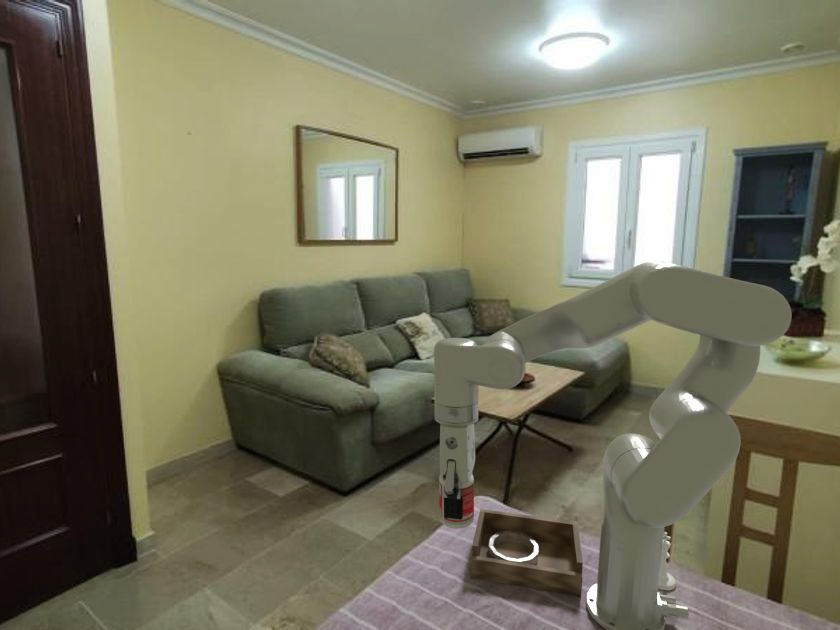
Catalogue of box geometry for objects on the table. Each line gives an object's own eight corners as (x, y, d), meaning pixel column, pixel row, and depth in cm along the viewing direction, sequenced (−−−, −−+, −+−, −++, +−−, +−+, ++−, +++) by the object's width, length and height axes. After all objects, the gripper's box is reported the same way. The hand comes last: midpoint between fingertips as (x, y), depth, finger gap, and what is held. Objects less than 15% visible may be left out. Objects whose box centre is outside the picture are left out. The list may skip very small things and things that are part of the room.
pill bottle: (481, 522, 86) (481, 463, 84) (453, 534, 82) (453, 473, 81) (459, 506, 91) (459, 451, 89) (432, 517, 88) (431, 459, 86)
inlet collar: (537, 543, 101) (538, 534, 101) (537, 574, 92) (538, 564, 91) (491, 536, 103) (491, 528, 103) (486, 565, 94) (487, 556, 94)
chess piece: (674, 594, 88) (680, 544, 87) (645, 584, 91) (649, 535, 89) (676, 578, 93) (681, 530, 91) (647, 569, 95) (652, 522, 93)
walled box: (575, 548, 101) (577, 522, 100) (581, 596, 88) (583, 566, 87) (479, 534, 106) (480, 508, 105) (470, 577, 92) (471, 548, 91)
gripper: (471, 431, 74) (471, 538, 77) (483, 395, 91) (483, 485, 94) (423, 427, 76) (425, 532, 79) (444, 393, 93) (445, 481, 95)
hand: (456, 506), depth 86 cm, fingers closed on pill bottle, 6 cm apart
